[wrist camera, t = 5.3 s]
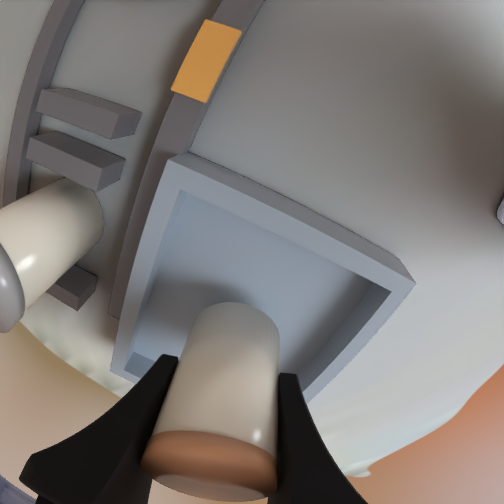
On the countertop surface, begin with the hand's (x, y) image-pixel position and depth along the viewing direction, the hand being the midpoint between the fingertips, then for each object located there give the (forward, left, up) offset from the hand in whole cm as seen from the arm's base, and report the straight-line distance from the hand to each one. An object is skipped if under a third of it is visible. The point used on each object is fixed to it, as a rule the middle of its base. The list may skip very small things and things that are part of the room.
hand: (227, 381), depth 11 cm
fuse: (+10, -1, -4) cm, 11 cm away
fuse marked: (0, 0, -2) cm, 2 cm away
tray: (0, 0, -4) cm, 4 cm away
